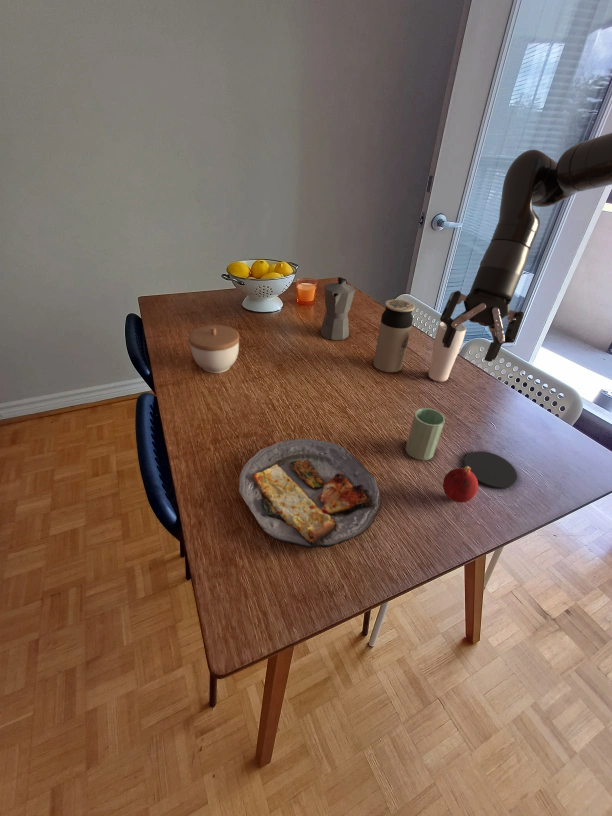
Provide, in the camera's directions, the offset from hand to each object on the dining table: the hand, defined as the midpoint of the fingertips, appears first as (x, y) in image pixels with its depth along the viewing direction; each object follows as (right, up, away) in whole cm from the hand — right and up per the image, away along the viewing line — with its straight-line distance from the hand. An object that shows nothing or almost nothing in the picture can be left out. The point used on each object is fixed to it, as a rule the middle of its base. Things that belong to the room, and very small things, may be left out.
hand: (467, 354), depth 77 cm
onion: (-4, -27, -5) cm, 28 cm away
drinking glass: (+4, -2, +31) cm, 31 cm away
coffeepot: (-22, +13, +50) cm, 56 cm away
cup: (-8, -19, +6) cm, 22 cm away
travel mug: (-9, +1, +34) cm, 35 cm away
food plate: (-31, -26, -6) cm, 41 cm away
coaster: (+5, -23, +2) cm, 24 cm away
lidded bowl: (-55, 0, +29) cm, 62 cm away
